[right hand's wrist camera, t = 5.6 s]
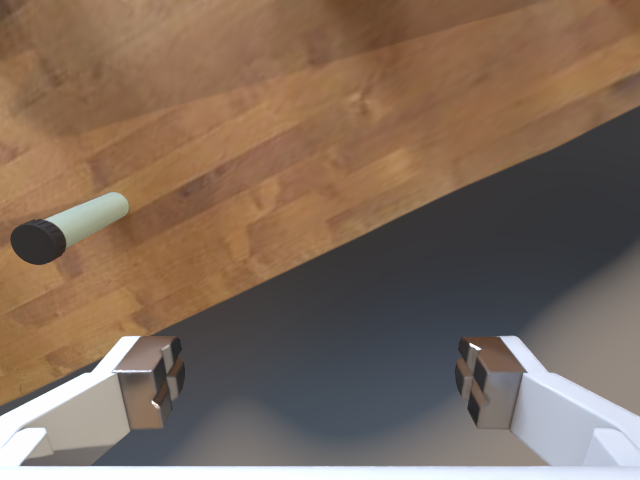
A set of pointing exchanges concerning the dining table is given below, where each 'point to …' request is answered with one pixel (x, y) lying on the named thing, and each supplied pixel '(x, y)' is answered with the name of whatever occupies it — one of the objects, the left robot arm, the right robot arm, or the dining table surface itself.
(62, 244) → the lid
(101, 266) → the dining table surface
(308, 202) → the dining table surface
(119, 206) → the pale green cylinder
